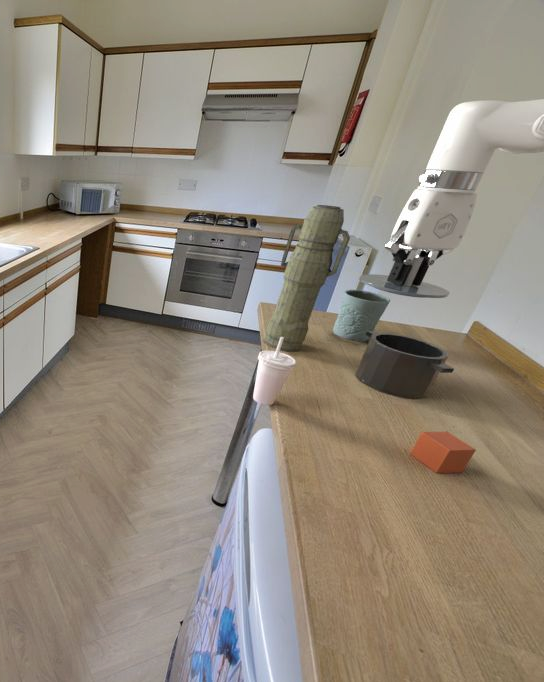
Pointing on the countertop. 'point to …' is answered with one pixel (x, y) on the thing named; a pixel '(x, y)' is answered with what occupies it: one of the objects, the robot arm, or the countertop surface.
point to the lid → (406, 284)
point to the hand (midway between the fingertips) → (403, 282)
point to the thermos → (306, 275)
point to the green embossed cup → (359, 314)
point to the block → (442, 452)
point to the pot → (401, 365)
